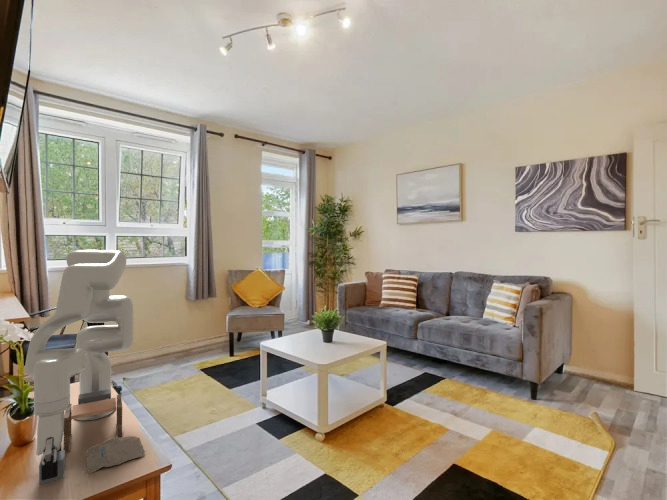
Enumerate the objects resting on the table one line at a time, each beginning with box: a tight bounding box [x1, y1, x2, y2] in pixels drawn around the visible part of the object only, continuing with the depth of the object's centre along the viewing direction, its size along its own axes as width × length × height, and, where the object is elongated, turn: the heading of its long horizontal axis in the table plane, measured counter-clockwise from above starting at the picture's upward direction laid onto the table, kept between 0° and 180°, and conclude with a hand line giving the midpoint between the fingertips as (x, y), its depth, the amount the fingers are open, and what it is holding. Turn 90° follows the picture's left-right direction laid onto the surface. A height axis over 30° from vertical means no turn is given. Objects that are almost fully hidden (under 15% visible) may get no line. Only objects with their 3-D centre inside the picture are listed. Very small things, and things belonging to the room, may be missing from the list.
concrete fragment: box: [85, 435, 146, 474], centre depth 102 cm, size 7×14×6 cm, turn 124°
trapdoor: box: [71, 388, 117, 421], centre depth 116 cm, size 14×12×3 cm
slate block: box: [38, 449, 66, 485], centre depth 95 cm, size 5×5×5 cm
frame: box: [62, 394, 124, 454], centre depth 113 cm, size 10×15×10 cm
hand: (51, 467), depth 95 cm, fingers open, 9 cm apart
